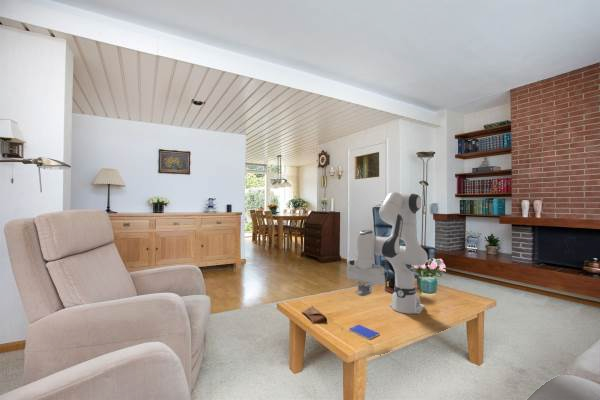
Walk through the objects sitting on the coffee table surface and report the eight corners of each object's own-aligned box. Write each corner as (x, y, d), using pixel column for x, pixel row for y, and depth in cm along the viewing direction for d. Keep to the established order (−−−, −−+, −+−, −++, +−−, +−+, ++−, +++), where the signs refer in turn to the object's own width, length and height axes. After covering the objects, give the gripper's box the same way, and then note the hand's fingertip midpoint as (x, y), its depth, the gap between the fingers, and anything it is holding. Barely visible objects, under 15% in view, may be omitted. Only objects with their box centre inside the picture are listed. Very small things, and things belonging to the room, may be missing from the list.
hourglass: (407, 289, 218) (408, 256, 218) (407, 295, 203) (407, 260, 203) (385, 287, 223) (386, 255, 224) (383, 292, 208) (384, 258, 209)
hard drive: (349, 328, 145) (369, 337, 136) (359, 324, 150) (379, 332, 141) (349, 331, 145) (369, 340, 136) (359, 327, 150) (379, 335, 141)
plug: (366, 290, 148) (366, 283, 148) (373, 292, 145) (373, 284, 145) (353, 295, 139) (353, 287, 139) (360, 297, 137) (360, 289, 137)
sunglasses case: (299, 312, 168) (305, 301, 169) (309, 317, 170) (314, 306, 171) (313, 324, 151) (319, 312, 153) (323, 329, 154) (329, 317, 155)
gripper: (387, 265, 138) (387, 293, 138) (352, 259, 152) (351, 284, 152) (381, 267, 134) (380, 296, 133) (345, 260, 148) (344, 287, 148)
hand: (365, 290), depth 143 cm, fingers closed on plug, 4 cm apart
